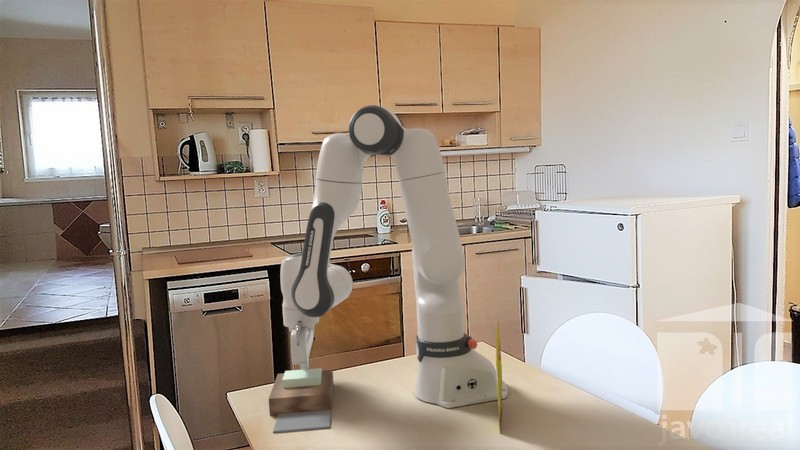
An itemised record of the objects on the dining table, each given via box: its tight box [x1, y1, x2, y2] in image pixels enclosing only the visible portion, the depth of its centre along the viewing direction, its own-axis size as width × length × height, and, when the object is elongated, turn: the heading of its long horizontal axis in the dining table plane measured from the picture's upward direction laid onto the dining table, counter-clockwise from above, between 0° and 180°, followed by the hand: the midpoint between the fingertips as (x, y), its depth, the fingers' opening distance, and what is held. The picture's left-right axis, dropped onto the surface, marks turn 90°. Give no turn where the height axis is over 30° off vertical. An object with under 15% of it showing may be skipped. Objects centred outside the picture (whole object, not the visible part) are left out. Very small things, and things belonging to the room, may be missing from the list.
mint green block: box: [282, 367, 323, 388], centre depth 139 cm, size 9×6×2 cm, turn 95°
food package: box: [495, 319, 503, 431], centre depth 122 cm, size 15×1×20 cm, turn 168°
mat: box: [272, 409, 332, 434], centre depth 126 cm, size 12×8×1 cm
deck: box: [268, 369, 335, 417], centre depth 139 cm, size 14×16×4 cm
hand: (304, 369), depth 145 cm, fingers closed
